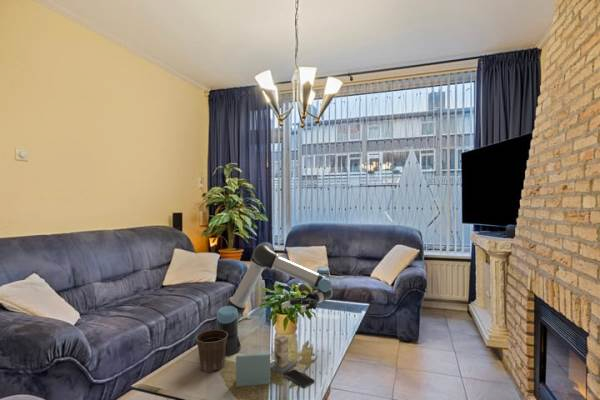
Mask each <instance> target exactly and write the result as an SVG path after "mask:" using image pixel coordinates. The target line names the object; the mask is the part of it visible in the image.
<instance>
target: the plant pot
mask: <svg viewBox="0 0 600 400" xmlns="http://www.w3.org/2000/svg"><path fill="white" fill-rule="evenodd" d="M227 337H228V333H227V332H226V331H223V330H217V329H209V330H206V331H203V332H199V333H198V334H197V335H196V336H195V341H196V346H197V349H198V358H199V364H200V365H199V367H200V370H201V371H203V372H205V373H212V372H215V371H219V370H222V369H223V368H224V366H225V363H226V355H225V349H226V343H227Z"/></svg>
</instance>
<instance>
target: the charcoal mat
mask: <svg viewBox="0 0 600 400" xmlns="http://www.w3.org/2000/svg"><path fill="white" fill-rule="evenodd" d="M296 366H297V363H295V362H294V361H290V360H288V364H287V365H286V366H284V367H283V368H281V367H278V366H276V365H275V360H273V361H272V362H270V371H274V372H276V373H279V374H282V375H283V374H284V373H286V372H289V371H291V370H292V369H293V368H294V367H296Z"/></svg>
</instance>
